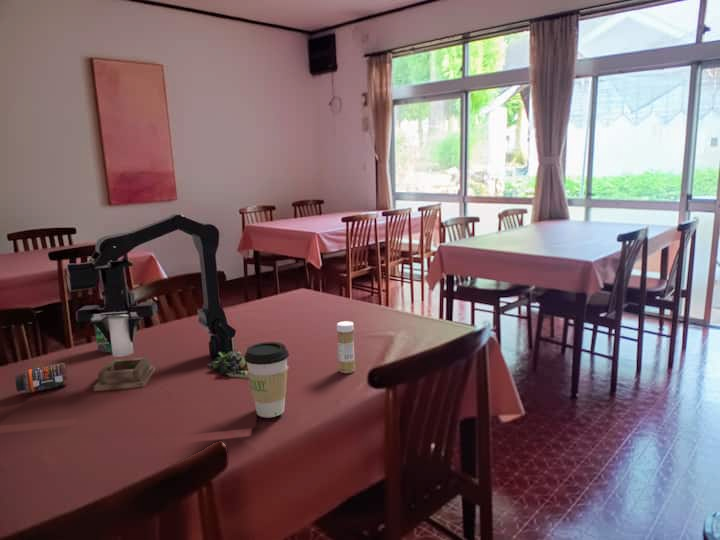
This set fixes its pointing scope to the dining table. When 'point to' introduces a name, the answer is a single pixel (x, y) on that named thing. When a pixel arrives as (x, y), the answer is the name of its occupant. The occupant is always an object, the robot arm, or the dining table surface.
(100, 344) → the coffee box
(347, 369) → the sprinkles bottle
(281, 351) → the coffee cup
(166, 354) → the dining table surface
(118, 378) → the holder
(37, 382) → the supplement bottle
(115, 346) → the white tapered cylinder
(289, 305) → the dining table surface
